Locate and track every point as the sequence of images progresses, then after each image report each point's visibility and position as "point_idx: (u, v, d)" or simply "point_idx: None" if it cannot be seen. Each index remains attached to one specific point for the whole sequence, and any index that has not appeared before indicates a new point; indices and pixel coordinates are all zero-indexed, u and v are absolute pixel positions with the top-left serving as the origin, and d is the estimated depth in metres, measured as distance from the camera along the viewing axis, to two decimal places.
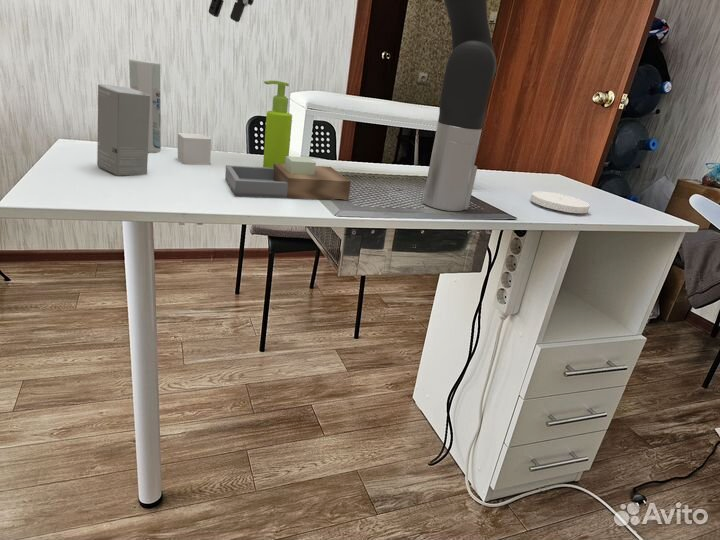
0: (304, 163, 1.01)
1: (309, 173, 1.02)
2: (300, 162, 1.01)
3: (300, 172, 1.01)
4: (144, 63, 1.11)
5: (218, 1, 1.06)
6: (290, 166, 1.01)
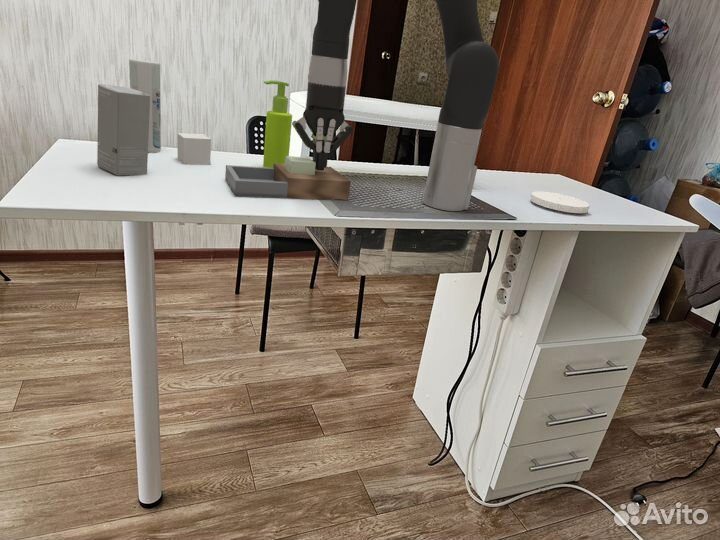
0: (304, 163, 1.01)
1: (309, 173, 1.02)
2: (300, 162, 1.01)
3: (300, 172, 1.01)
4: (144, 63, 1.11)
5: (316, 154, 1.03)
6: (290, 166, 1.01)
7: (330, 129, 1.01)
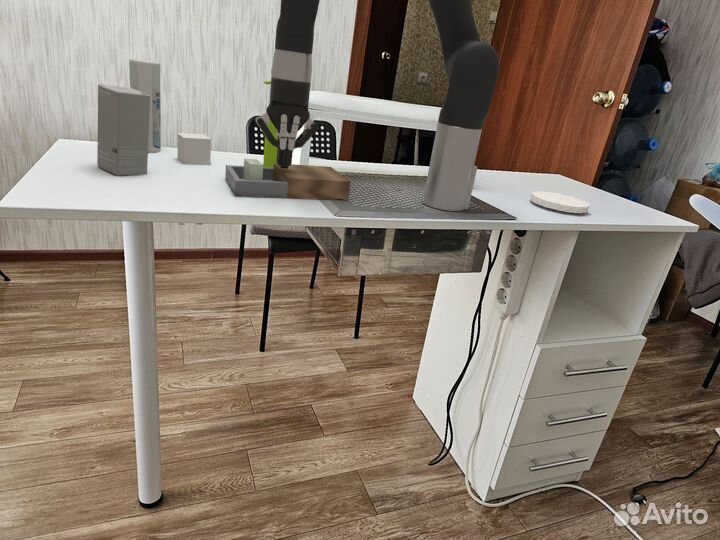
0: (251, 176, 0.97)
1: (261, 170, 0.97)
2: None
3: (260, 180, 0.98)
4: (144, 63, 1.11)
5: (280, 152, 1.00)
6: None
7: (294, 126, 0.98)
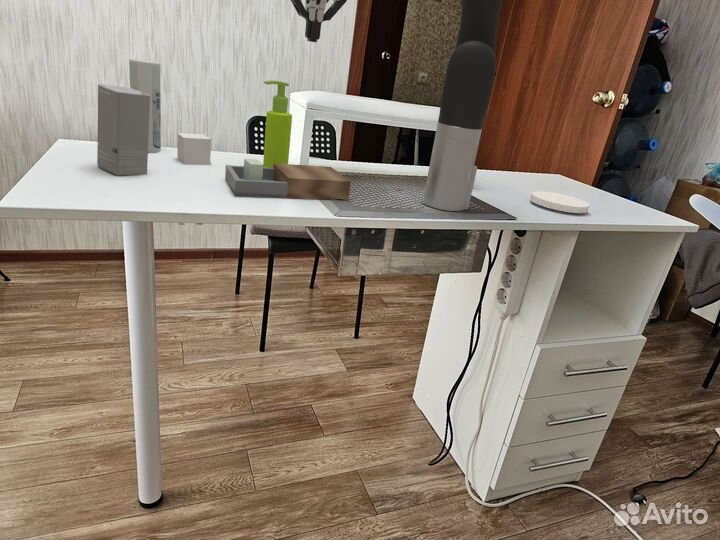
0: (251, 176, 0.97)
1: (261, 170, 0.97)
2: None
3: (260, 180, 0.98)
4: (144, 63, 1.11)
5: (309, 24, 1.02)
6: None
7: None
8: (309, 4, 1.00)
